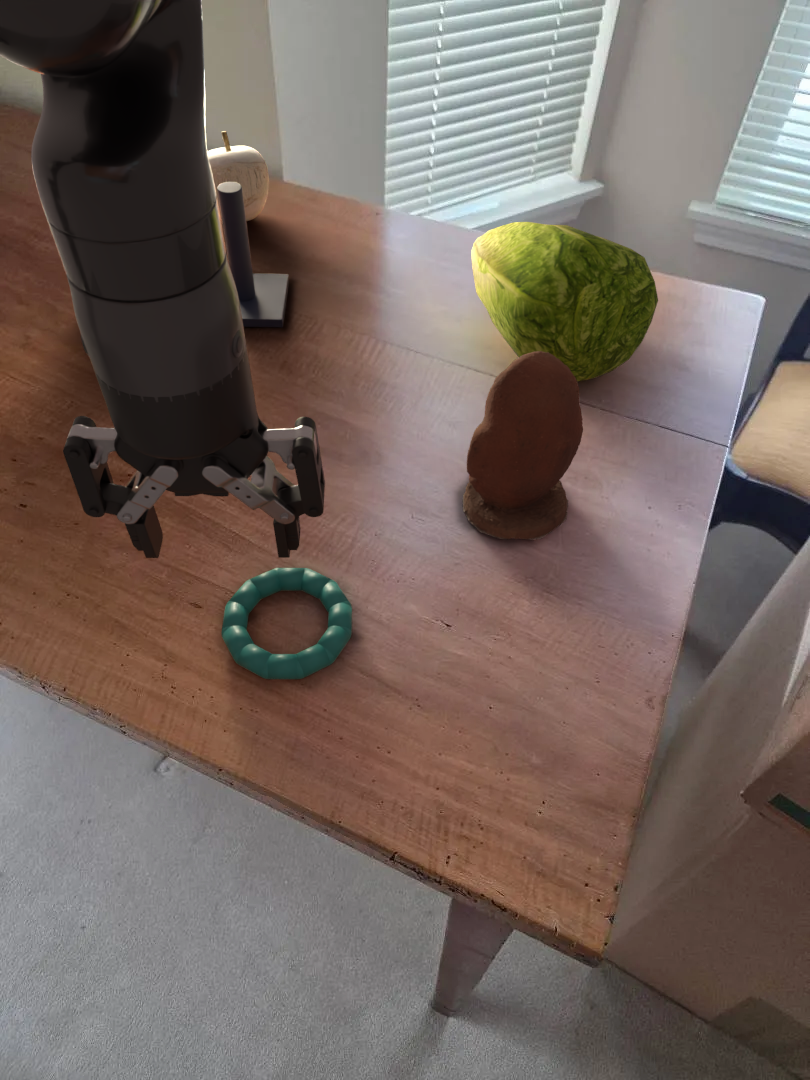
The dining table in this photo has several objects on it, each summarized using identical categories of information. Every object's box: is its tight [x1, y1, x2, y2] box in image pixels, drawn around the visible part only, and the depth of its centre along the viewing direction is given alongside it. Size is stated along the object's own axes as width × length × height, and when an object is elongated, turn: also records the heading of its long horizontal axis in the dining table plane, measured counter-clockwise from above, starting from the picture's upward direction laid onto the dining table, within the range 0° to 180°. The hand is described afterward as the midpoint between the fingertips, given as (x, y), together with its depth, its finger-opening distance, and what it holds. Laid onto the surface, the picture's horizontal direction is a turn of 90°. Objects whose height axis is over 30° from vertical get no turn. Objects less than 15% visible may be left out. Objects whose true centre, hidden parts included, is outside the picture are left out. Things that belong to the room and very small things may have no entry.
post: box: [217, 182, 290, 328], centre depth 79 cm, size 9×9×13 cm
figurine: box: [461, 351, 584, 541], centre depth 60 cm, size 9×10×15 cm
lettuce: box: [470, 221, 659, 383], centre depth 78 cm, size 14×24×15 cm
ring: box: [220, 567, 353, 680], centre depth 56 cm, size 10×10×2 cm
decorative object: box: [207, 130, 270, 222], centre depth 92 cm, size 9×9×10 cm
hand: (220, 547), depth 50 cm, fingers open, 8 cm apart
